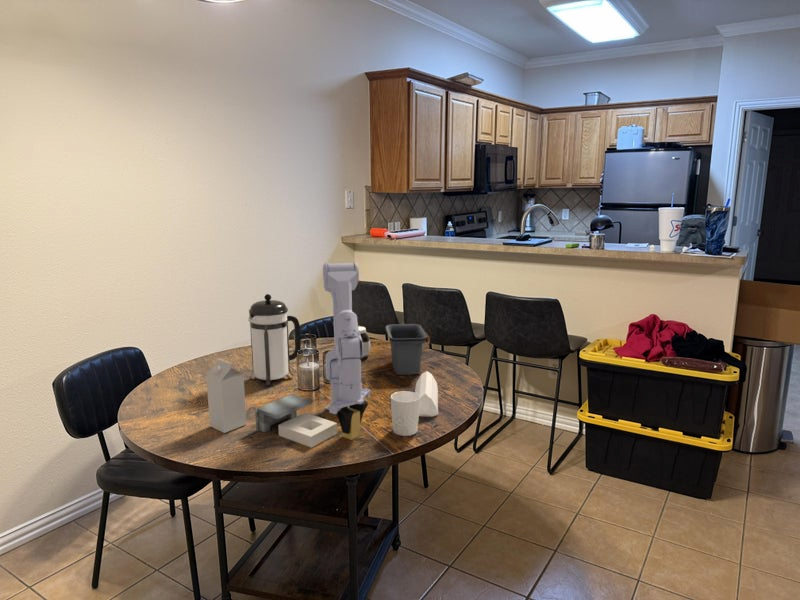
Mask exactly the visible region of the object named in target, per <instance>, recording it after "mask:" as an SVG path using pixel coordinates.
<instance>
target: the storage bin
mask: <svg viewBox="0 0 800 600" xmlns="http://www.w3.org/2000/svg"><path fill="white" fill-rule="evenodd" d="M385 330H386V334H387V337H388V339H389V343H390V354H391V362H392V363H391V364H392V365H393V368H394V372H395V374H396V375H400V376H402V375H403V376H405V375H406V376H407V375H408V376H409V375H410V376H411V375H419V374H420V373H421V362H422V353H423V352H422V351H423V344H425V343H427V344H428V345H429V346H430V344H431V338H430V336H429V334H428V332H425V330H424V328H423V327H422V325H421V324H418V323H417V324H415V323H401V324H400V323H398V324H396V323H395V324H394V323H393V324H388V325H386V326H385Z"/></svg>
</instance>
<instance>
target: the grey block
mask: <svg viewBox="0 0 800 600" xmlns="http://www.w3.org/2000/svg"><path fill="white" fill-rule="evenodd" d="M312 404H313V399H310V398H306V397H303V396H300V395H297V394H295V393H291V394H288V395H286V396H284V397H281V398H280V399H277V400H274V401H272V402H270V403H268V404H265V405H262V406H260V407H258V408H256V410H255V411H254V416H255V430H256V431H257V432H261V433H262V432H263V433H267V432H269V431H270V430H271V426H273V425H275V424H277V423H279V422H282V421H283V420H285V419H288V420H290V419H292V418H295V417H297V416H298V414H297V413H298V412H297V411H299V410H301V409H303V408H306V407H307V406H310V405H312Z"/></svg>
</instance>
